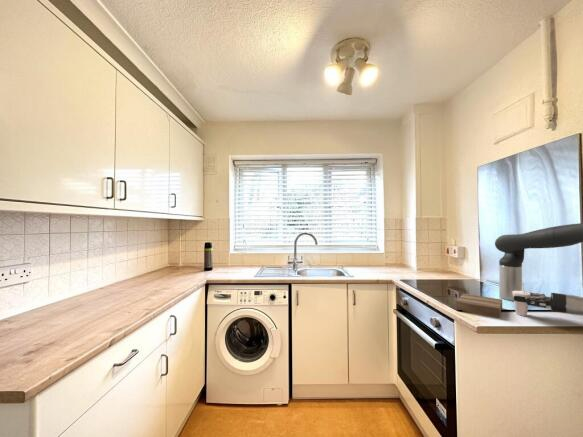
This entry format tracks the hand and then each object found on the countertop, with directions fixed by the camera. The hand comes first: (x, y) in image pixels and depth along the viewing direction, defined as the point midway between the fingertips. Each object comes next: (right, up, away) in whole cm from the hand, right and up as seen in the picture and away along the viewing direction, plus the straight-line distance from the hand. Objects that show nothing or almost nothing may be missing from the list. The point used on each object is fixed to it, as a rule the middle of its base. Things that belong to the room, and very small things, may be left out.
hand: (514, 296), depth 124 cm
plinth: (-11, -8, +6) cm, 15 cm away
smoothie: (+2, -8, -1) cm, 8 cm away
